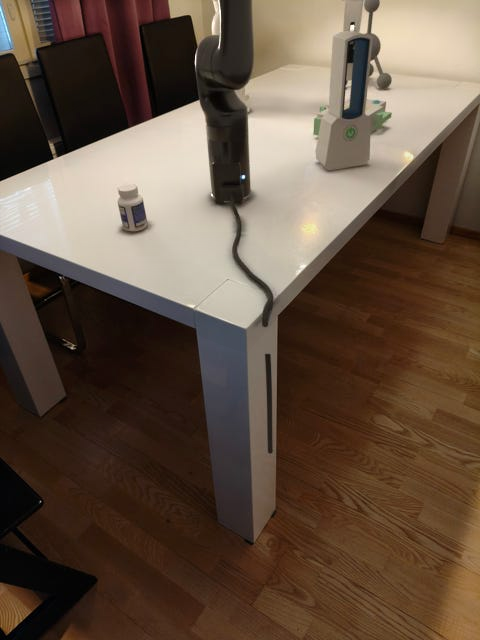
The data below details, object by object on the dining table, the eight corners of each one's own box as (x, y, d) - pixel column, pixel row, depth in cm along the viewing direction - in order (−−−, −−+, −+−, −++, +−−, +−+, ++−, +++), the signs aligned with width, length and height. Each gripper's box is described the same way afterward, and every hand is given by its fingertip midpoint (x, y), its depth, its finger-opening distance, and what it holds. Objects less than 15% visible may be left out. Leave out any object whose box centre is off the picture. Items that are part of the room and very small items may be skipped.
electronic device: (325, 171, 125) (333, 37, 106) (314, 161, 130) (320, 32, 112) (369, 164, 127) (385, 32, 108) (356, 155, 133) (369, 28, 114)
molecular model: (320, 82, 200) (324, -5, 182) (368, 76, 205) (377, -10, 186) (347, 95, 182) (354, 0, 164) (399, 88, 187) (412, -5, 168)
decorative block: (340, 93, 160) (399, 100, 150) (339, 114, 164) (396, 122, 154) (301, 113, 144) (364, 122, 134) (300, 136, 148) (362, 146, 138)
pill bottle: (149, 220, 107) (142, 181, 102) (146, 231, 103) (138, 191, 98) (125, 221, 107) (116, 182, 102) (121, 232, 103) (112, 193, 98)
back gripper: (343, -8, 155) (339, 56, 166) (341, -3, 142) (336, 66, 153) (368, -9, 153) (361, 56, 164) (368, -4, 140) (361, 66, 151)
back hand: (349, 60), depth 159 cm, fingers closed on brick, 5 cm apart
